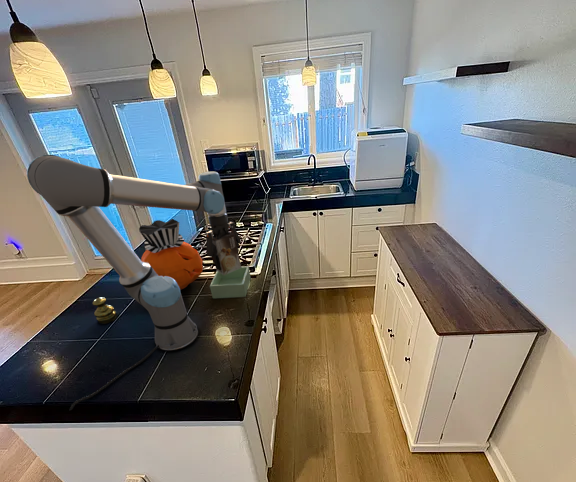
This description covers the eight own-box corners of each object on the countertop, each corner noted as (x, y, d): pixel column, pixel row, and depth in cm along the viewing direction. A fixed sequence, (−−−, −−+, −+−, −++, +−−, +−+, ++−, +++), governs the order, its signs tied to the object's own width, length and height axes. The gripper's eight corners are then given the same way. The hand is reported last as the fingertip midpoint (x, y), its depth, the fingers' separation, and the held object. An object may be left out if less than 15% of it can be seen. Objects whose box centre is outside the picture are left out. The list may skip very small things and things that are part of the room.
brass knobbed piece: (121, 314, 132) (112, 294, 127) (108, 325, 126) (98, 304, 121) (107, 312, 134) (97, 293, 129) (94, 323, 128) (83, 303, 123)
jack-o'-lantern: (211, 290, 143) (195, 226, 126) (151, 305, 136) (125, 241, 119) (202, 266, 164) (187, 209, 148) (149, 278, 157) (127, 220, 141)
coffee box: (234, 263, 143) (227, 230, 134) (241, 268, 138) (235, 233, 129) (216, 271, 138) (208, 236, 129) (223, 275, 134) (215, 240, 125)
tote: (245, 296, 136) (243, 284, 133) (212, 298, 137) (209, 286, 134) (250, 278, 150) (248, 266, 146) (220, 279, 151) (218, 268, 147)
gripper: (200, 224, 116) (213, 277, 128) (243, 207, 129) (251, 256, 141) (188, 221, 120) (202, 272, 132) (231, 204, 133) (240, 253, 146)
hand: (227, 264), depth 137 cm, fingers closed on coffee box, 9 cm apart
